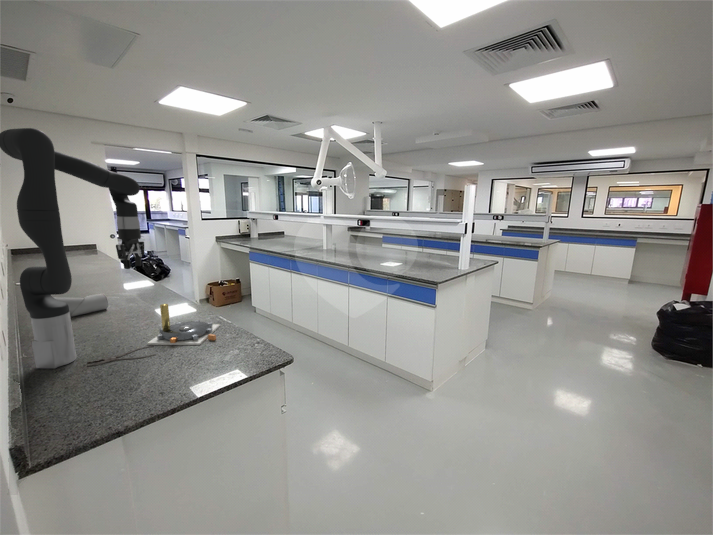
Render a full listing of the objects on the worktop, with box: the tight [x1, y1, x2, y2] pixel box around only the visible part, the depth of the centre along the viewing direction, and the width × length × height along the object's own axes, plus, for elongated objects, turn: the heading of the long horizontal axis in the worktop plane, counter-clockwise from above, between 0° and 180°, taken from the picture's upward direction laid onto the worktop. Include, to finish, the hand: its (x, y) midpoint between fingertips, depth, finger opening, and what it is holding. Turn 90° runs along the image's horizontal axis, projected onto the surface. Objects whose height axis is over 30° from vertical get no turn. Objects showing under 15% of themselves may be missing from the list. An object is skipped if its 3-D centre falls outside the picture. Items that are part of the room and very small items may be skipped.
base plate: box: [147, 323, 221, 346], centre depth 129 cm, size 20×24×2 cm
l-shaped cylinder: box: [53, 292, 109, 318], centre depth 151 cm, size 18×11×20 cm
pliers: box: [86, 345, 157, 368], centre depth 108 cm, size 10×1×20 cm
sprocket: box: [156, 303, 213, 343], centre depth 128 cm, size 21×21×12 cm
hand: (133, 267), depth 129 cm, fingers open, 6 cm apart
